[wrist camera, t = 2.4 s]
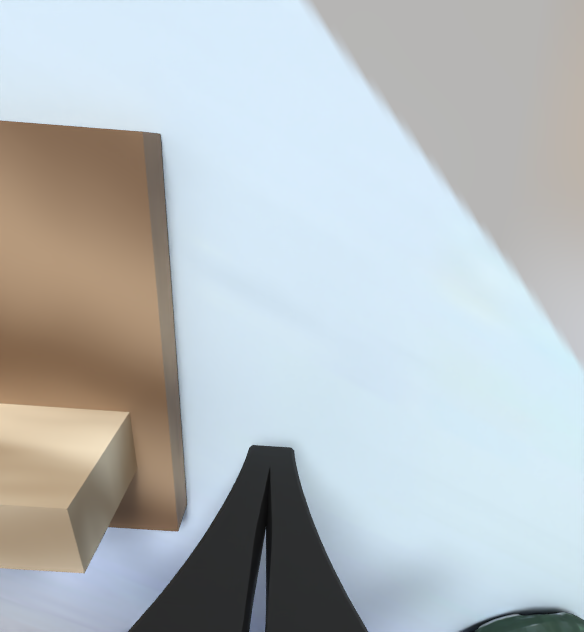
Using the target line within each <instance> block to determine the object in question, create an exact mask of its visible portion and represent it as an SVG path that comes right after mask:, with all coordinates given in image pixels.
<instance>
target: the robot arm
mask: <svg viewBox="0 0 584 632" xmlns="http://www.w3.org/2000/svg"><path fill="white" fill-rule="evenodd" d="M265 530H266V627H265V632H368V631H367V629H366V627H365V625H364V624H363V622H362V620H361V618H360V617H359V615H358V613H357V611H356V610H355V608H354V606H353V604H352V603H351V601H350V599H349V597H348V596H347V594H346V592H345V590H344V588H343V586H342V584H341V582H340V580H339V578H338V576H337V574H336V572H335V570H334V568H333V566H332V564H331V562H330V560H329V558H328V556H327V553H326V551H325V549H324V547H323V544H322V542H321V540H320V537H319V535H318V532H317V530H316V527H315V525H314V522H313V520H312V517H311V514H310V511H309V508H308V505H307V502H306V500H305V497H304V494H303V490H302V487H301V483H300V479H299V476H298V471H297V467H296V462H295V454H294V450H293V449H292V448H287V447H272V446H258V445H253V446H251V447H250V448H249V450H248V454H247V457H246V459H245V462H244V464H243V467H242V469H241V471H240V473H239V475H238V477H237V480H236V482H235V483H234V485H233V487H232V489H231V491H230V493H229V495H228V497H227V498H226V500H225V502H224V504H223V506H222V507H221V509H220V511H219V512H218V514H217V516H216V517H215V519H214V520H213V522H212V524H211V525H210V527H209V529H208V530H207V532H206V533H205V535H204V536H203V538H202V539H201V541H200V542H199V544H198V545H197V547H196V548H195V549H194V551H193V552H192V554H191V555H190V556H189V558H188V559H187V561H186V562H185V563H184V565H183V566H182V567H181V569H180V570H179V571H178V572H177V574H176V575H175V576H174V578H173V579H172V580H171V582H170V583H169V584H168V585H167V587H166V588H165V589H164V590H163V592H162V593H161V594H160V595H159V597H158V598H157V599H156V600H155V601H154V602H153V604H152V605H151V606H150V607H149V608H148V609H147V610H146V612H145V613H144V614H143V615H142V616H141V617H140V618H139V620H138V621H137V622H136V623H135V624H134V625H133V627H132V628H131V629H130V630H129V631H128V632H249V629H250V620H251V613H252V606H253V600H254V594H255V588H256V582H257V577H258V571H259V565H260V559H261V553H262V547H263V541H264V536H265Z"/></svg>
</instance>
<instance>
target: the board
mask: <svg viewBox="0 0 584 632" xmlns="http://www.w3.org/2000/svg"><path fill="white" fill-rule="evenodd" d="M0 404H15V405H30V406H45V407H59V408H74V409H89V410H104V411H119V412H129V413H130V420H131V427H132V434H133V441H134V448H135V455H136V462H137V470H136V472H135V474H134V476H133V478H132V480H131V482H130V484H129V486H128V488H127V490H126V492H125V494H124V496H123V498H122V500H121V502H120V504H119V506H118V508H117V510H116V512H115V514H114V516H113V518H112V520H111V522H110V524H109V526H108V527H116V528H131V529H147V530H163V531H179V528H180V525H181V521H182V518H183V515H184V512H185V509H186V506H187V499H186V485H185V471H184V457H183V443H182V429H181V415H180V401H179V387H178V373H177V359H176V345H175V331H174V317H173V303H172V289H171V275H170V261H169V247H168V233H167V219H166V205H165V191H164V177H163V163H162V149H161V135H160V134H157V133H149V132H139V131H126V130H113V129H100V128H87V127H75V126H62V125H49V124H36V123H23V122H11V121H0Z"/></svg>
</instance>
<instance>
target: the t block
mask: <svg viewBox="0 0 584 632" xmlns="http://www.w3.org/2000/svg"><path fill="white" fill-rule="evenodd" d="M136 470H137V462H136V455H135V448H134V441H133V434H132V427H131V420H130V413H129V412H119V411H104V410H89V409H74V408H59V407H45V406H30V405H15V404H0V568H7V569H23V570H40V571H56V572H72V573H85V571H86V569H87V567H88V565H89V563H90V561H91V559H92V557H93V555H94V553H95V552H96V550H97V548H98V546H99V544H100V542H101V540H102V538H103V536H104V534H105V532H106V530H107V528H108V526H109V524H110V522H111V520H112V518H113V516H114V514H115V512H116V510H117V508H118V506H119V504H120V502H121V500H122V498H123V496H124V494H125V492H126V490H127V488H128V486H129V484H130V482H131V480H132V478H133V476H134V474H135V472H136Z"/></svg>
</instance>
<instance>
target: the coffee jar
mask: <svg viewBox="0 0 584 632" xmlns="http://www.w3.org/2000/svg"><path fill="white" fill-rule="evenodd" d="M475 632H584V620H582V619H581V618H579V617H577V616H575V615H573V614H570V613H565V612H560V613H554V614H542V615H540V614H535V615H527V616H524V615H519V614H512V615H508V616H504V617H500V618H497V619H494V620H491V621H489V622H487V623H485V624H483V625H481V626H480V627H479V628H478V629H477V630H476V631H475Z"/></svg>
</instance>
